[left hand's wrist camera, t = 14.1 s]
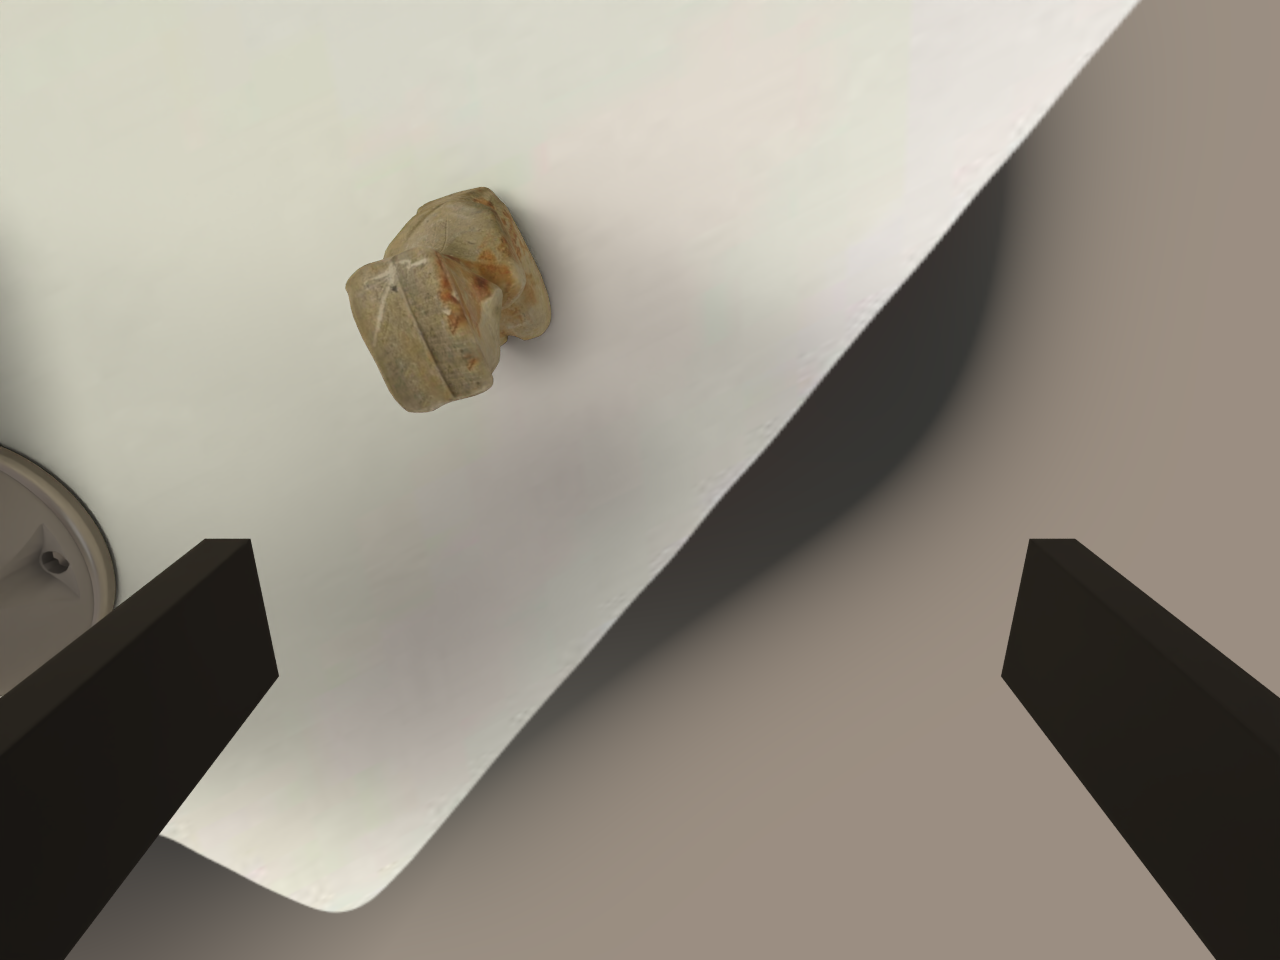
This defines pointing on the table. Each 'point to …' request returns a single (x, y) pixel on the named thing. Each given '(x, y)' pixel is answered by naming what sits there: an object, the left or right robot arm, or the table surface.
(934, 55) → the table surface
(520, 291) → the sculpture
